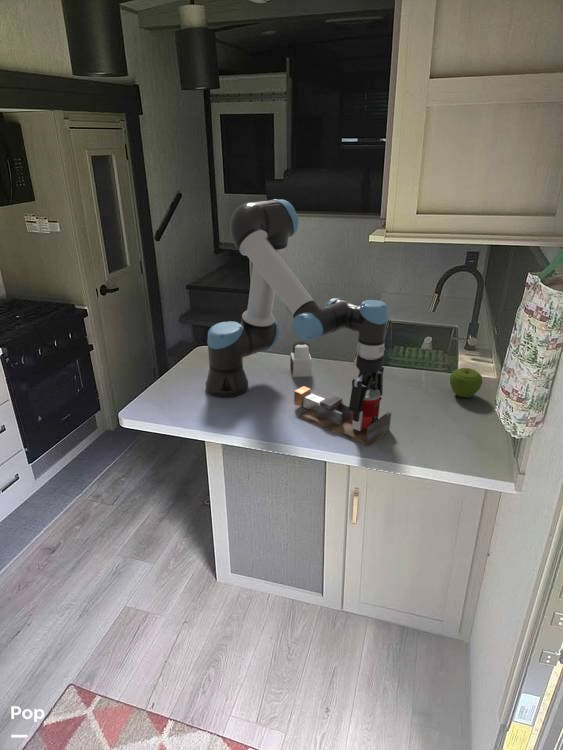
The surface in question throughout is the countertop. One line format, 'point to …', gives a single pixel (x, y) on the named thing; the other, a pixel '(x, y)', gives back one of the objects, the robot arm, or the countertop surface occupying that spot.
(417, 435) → the countertop surface
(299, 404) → the shaft
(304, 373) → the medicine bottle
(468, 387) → the apple
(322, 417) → the bearing rail
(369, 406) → the canned food
